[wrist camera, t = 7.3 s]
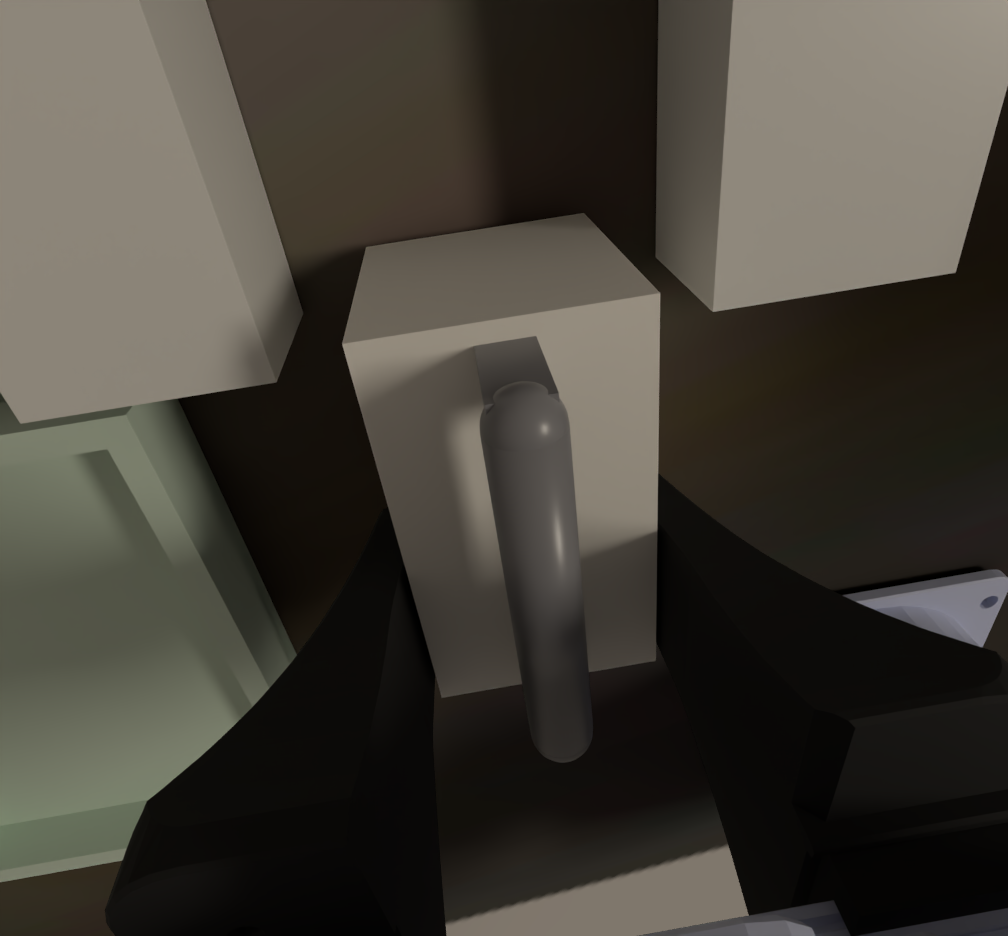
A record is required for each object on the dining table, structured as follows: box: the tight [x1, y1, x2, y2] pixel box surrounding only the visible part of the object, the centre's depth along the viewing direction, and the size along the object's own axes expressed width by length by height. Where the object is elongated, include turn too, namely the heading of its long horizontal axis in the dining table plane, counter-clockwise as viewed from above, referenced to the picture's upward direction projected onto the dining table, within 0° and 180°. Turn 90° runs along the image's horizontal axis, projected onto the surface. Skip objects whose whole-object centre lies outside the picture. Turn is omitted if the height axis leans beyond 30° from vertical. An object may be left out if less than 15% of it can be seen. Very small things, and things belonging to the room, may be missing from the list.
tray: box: [0, 392, 297, 882], centre depth 16 cm, size 14×11×2 cm
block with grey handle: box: [342, 213, 660, 763], centre depth 11 cm, size 7×4×6 cm, turn 7°
